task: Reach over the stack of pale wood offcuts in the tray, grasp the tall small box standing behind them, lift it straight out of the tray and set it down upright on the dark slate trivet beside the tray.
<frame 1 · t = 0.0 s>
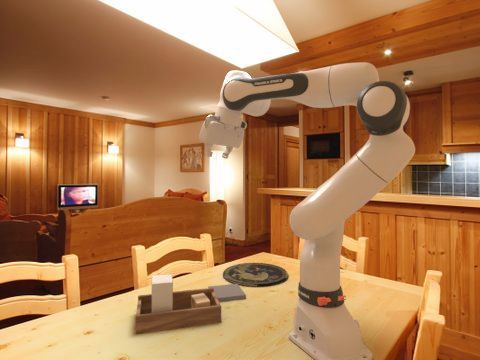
hand: (216, 157, 104), 52 cm above the table, tool tilted 20°, fingers open, 8 cm apart
small box: (162, 320, 91), resting in tray
offcut lower: (200, 316, 95), resting in tray, touching offcut upper
slate trivet: (226, 294, 111), on the table
decorative plate: (255, 276, 134), on the table
offcut upper: (200, 307, 95), point 3 cm above the table, touching offcut lower
tray: (178, 317, 93), on the table
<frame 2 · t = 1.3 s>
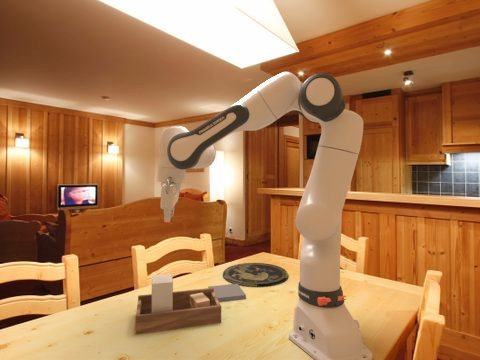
hand: (168, 219, 95), 31 cm above the table, tool pointing down, fingers open, 8 cm apart
offcut lower: (200, 316, 95), resting in tray
offcut upper: (199, 306, 95), point 3 cm above the table
everything else where it was.
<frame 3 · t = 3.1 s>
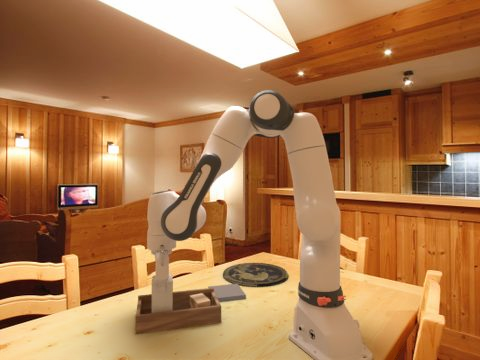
hand: (161, 286, 91), 11 cm above the table, tool pointing down, fingers open, 8 cm apart
small box: (162, 320, 91), resting in tray, touching gripper
offcut lower: (199, 316, 95), resting in tray, touching offcut upper
offcut upper: (199, 307, 95), point 3 cm above the table, touching offcut lower
everything else where it was.
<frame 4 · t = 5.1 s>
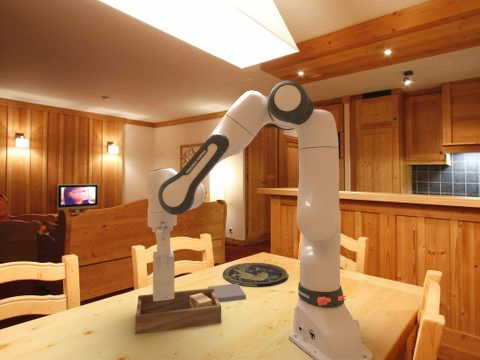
hand: (163, 264, 91), 18 cm above the table, tool pointing down, fingers closed on small box, 8 cm apart
small box: (163, 296, 91), point 8 cm above the table, touching gripper
everything else where it was.
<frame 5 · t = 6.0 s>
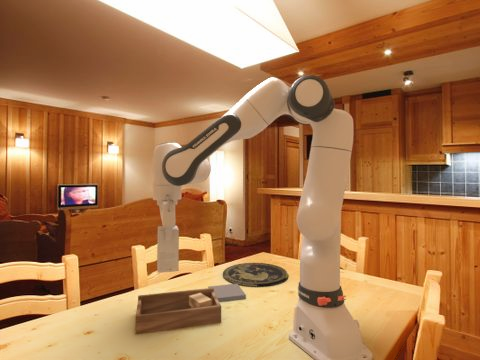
hand: (167, 237, 92), 26 cm above the table, tool pointing down, fingers closed on small box, 8 cm apart
small box: (167, 269, 92), point 16 cm above the table, touching gripper
everything else where it was.
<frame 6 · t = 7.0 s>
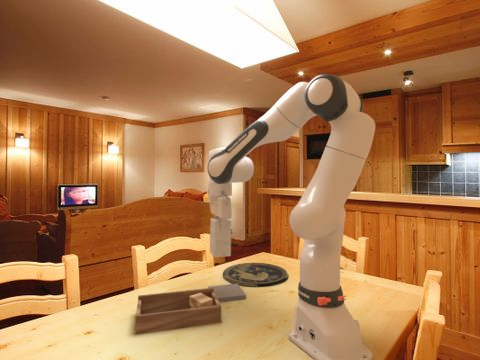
hand: (220, 228, 109), 26 cm above the table, tool pointing down, fingers closed on small box, 8 cm apart
small box: (220, 254, 109), point 16 cm above the table, touching gripper
offcut lower: (200, 315, 95), resting in tray
offcut upper: (200, 306, 95), point 3 cm above the table
everything else where it was.
when the fingers open (12 cm above the table, at t = 10.3 s): small box stays where it is, resting on slate trivet.
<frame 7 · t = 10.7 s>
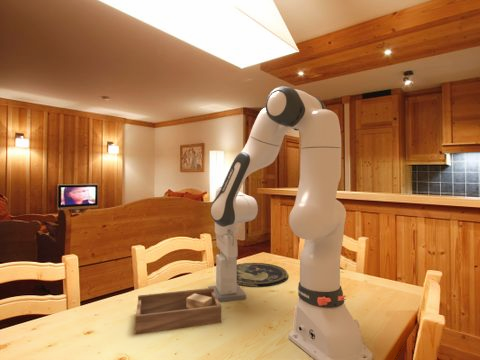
hand: (226, 264, 111), 12 cm above the table, tool pointing down, fingers open, 8 cm apart
small box: (226, 290, 112), point 1 cm above the table, touching gripper, slate trivet
offcut lower: (199, 316, 95), resting in tray, touching offcut upper
offcut upper: (199, 306, 95), point 3 cm above the table, touching offcut lower
everything else where it was.
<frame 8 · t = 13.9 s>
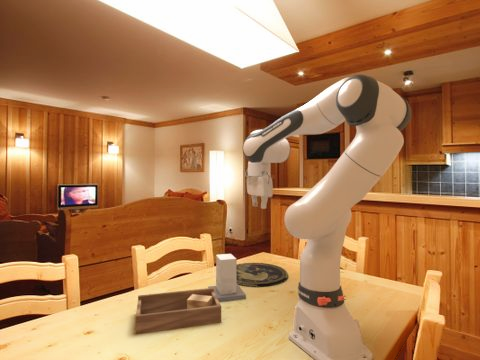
hand: (259, 207, 114), 33 cm above the table, tool pointing down, fingers open, 8 cm apart
small box: (226, 290, 112), point 1 cm above the table, touching slate trivet
at the end: small box inside the target area (0.1 cm from its centre), point 1.3 cm above the table; small box tilted 0°; the gripper is holding nothing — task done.
